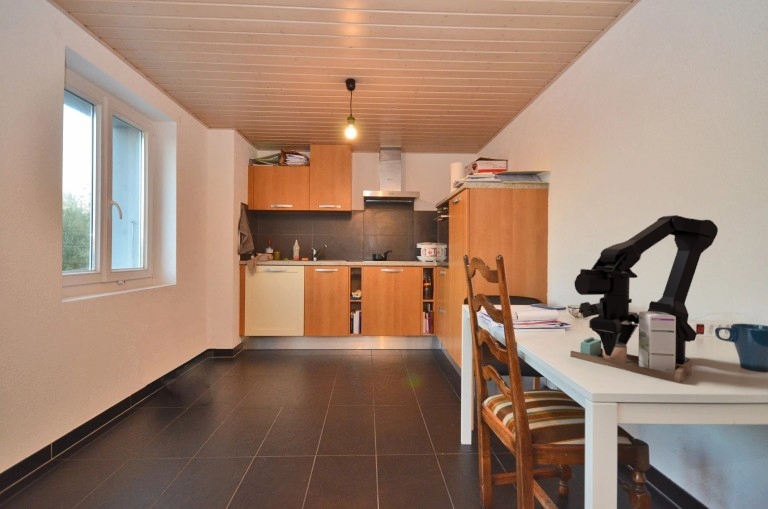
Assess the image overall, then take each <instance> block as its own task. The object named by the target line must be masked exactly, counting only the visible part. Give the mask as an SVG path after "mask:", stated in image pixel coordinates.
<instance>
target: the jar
mask: <svg viewBox="0 0 768 509" xmlns="http://www.w3.org/2000/svg"><path fill="white" fill-rule="evenodd" d="M602 349H603V355H602V358H606V359H610V360H615V361H619V362H623V363H627V361H628V360H627V354H628V345H626V344H625V343H622V342H618V341H617V343H616V345H615V348H614V350H613V352H612V354H611V356H607V355H606V354H605V351H604V348H603V347H602Z"/></svg>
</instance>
